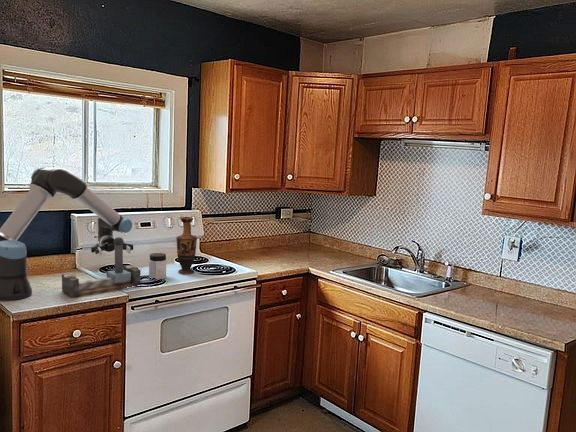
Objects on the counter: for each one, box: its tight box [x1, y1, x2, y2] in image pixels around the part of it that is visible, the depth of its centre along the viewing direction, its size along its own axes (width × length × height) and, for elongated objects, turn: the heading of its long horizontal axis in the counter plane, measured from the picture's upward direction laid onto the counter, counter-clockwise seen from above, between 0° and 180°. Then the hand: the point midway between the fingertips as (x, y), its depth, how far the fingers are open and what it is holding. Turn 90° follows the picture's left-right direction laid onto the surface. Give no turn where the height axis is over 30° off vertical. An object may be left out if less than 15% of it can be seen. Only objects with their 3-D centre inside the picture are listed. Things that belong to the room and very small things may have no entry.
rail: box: [61, 264, 141, 299], centre depth 227 cm, size 34×12×9 cm, turn 134°
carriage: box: [106, 236, 131, 283], centre depth 231 cm, size 8×9×21 cm
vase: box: [176, 216, 198, 275], centre depth 261 cm, size 11×11×30 cm
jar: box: [148, 252, 167, 280], centre depth 250 cm, size 9×8×12 cm
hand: (115, 251), depth 239 cm, fingers open, 13 cm apart
